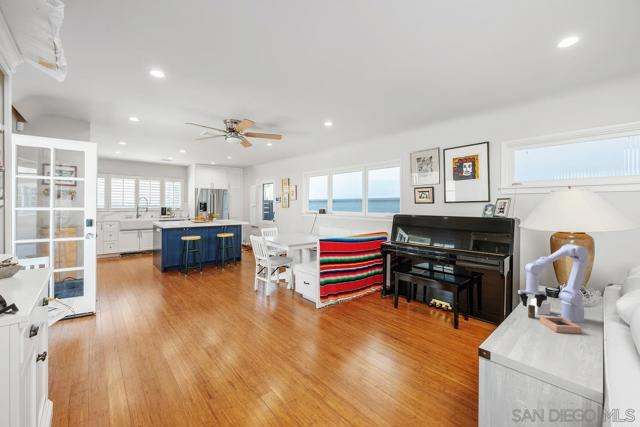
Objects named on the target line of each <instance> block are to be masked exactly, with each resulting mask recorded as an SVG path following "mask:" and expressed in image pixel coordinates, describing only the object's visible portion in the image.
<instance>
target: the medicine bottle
mask: <svg viewBox="0 0 640 427" xmlns="http://www.w3.org/2000/svg"><path fill="white" fill-rule="evenodd" d="M544 296H546V298H545V299H544V300H543V302H542V304H541V307H538V306H537V305H536V301H537V300H536V295H534V298H531V299H530V305H533V306H535V314H537V315H544V316H545V315H548V316H549V315H550V316H551V303H550V302H549V301H548V295H547V294H546V295H544Z"/></svg>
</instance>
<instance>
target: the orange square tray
mask: <svg viewBox="0 0 640 427" xmlns="http://www.w3.org/2000/svg"><path fill="white" fill-rule="evenodd" d="M539 323H540V324H541V325H543V326H545V327H546V328H548V329H550V330H551V331H553V332H554V333H558V334H576V335H577V334H579V335H581V334H582V326H580V325H578V324H576V323H575V322H570V321H568V320H567V319H565V318H561V317H558V316H557V317H555V316H540V317H539Z"/></svg>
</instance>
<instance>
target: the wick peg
mask: <svg viewBox="0 0 640 427" xmlns="http://www.w3.org/2000/svg"><path fill="white" fill-rule="evenodd" d="M527 305H528V306H527V308H528V310H527V317H528V318H529V319H532V320H533V319H534V320H535V318H536V317H535V316H536V313H535V306H533V305H531V304H527Z"/></svg>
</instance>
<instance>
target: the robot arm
mask: <svg viewBox="0 0 640 427" xmlns="http://www.w3.org/2000/svg"><path fill="white" fill-rule="evenodd" d="M589 252H590V251H589V250H588V249H587V248H586V247H585V246H583V245H577V244H571V243H566V244H564V245H562V246H561V247H560V249H558V250H556V251H555V252H553V253H552V254H550V255H548V256H540V257H539V259H537V260H534V261H532V262H529V263H526V265H525V267H524V271H525V273H526V281H525V282H526V285H525V286H526V287H525V289H518V290H517V293H518V295H519V297H520V299H521V302H522V306H523V307H525V308H526V307H527V308H528V306H527V305H528V299H529V296H528V295H534V296H535V295H536V300H537V301H536V305H537V306H538V307H541V304H542V302H543V300H544V299H545V298H546V296H544V295H547V291H546V290H539V289H540V288H539V286H540V285H539V284H540V282H539V280H540V275H541V274H542V273H543V271H544V270H545V269H547V268H549V267H550V266H552V265H553V262H555V261H557V260H559V259H562V258H564V257H567V256H568V257H569V258H571V260H573V263H572V264H573V265H572V267H571V271H570V274H569V276H568V277H569V278H568V280H567V284H566V286H564V287H562V289H561V291H560V292H559V294H558V298H559V300H560V301H561V314H557V315H556V316H557V317H561V318H565V319H567V320H568V321H570V322H572V323H576V322H577V323H586V321H585V308H584V306H582V304H583V293H582V292H581V291H580V290H581V285H582V282H583V279H584V276H585V272H586V269H587V266H588V263H589V258H588V257H589V256H588V255H589Z"/></svg>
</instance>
